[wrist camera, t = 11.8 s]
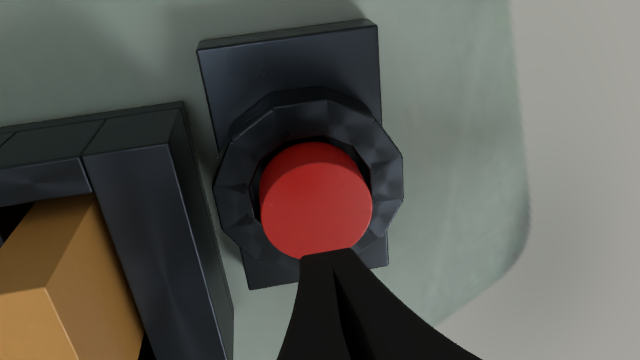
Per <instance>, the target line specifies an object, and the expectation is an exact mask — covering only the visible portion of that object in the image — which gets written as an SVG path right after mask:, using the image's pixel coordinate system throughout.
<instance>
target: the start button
mask: <svg viewBox="0 0 640 360" xmlns="http://www.w3.org/2000/svg"><path fill="white" fill-rule="evenodd" d="M259 202H260V216H261V224H262V227H263V230H264V233H265V235H266V236H267V238H268V239H269V241H270V242H271V243H272V244H273V245H274V246H275V247H276V248H277V249H278V250H280V251H281V252H283V253H285V254H287V255H289V256H291V257H294V258H298V259H300V258H301V257H302V256H303V255H309V254H315V253H320V252H326V251H332V250H337V249H343V248H349V247H352V246H353V245H354V244H355V243H356V242H357V241H358V240H359V239H360V238H361V237H362V236H363V234H364V233H365V231H366V230H367V227H368V225H369V223H370V220H371V216H372V206H373V204H372V197H371V194H370V191H369V189H368V187H367V185H366V183H365V181H364V179H363V177H362V175H361V173H360V171H359V169H358V167H357V165H356V164H355V162H354V161H353V159H352V158H351V157H350V156H349V155H348V154H347V153H346V152H345V151H343V150H342V149H340V148H338V147H336V146H334V145H331V144H328V143H324V142H303V143H298V144H295V145H292V146H290V147H288V148H286V149H284V150H283V151H281V152H279V153H278V154H277V155H276V156H275V157H273V159H272V160H271V161H270V162H269V163H268V164H267V166H266V167H265V169H264V171H263V173H262V176H261V179H260V183H259Z"/></svg>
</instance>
